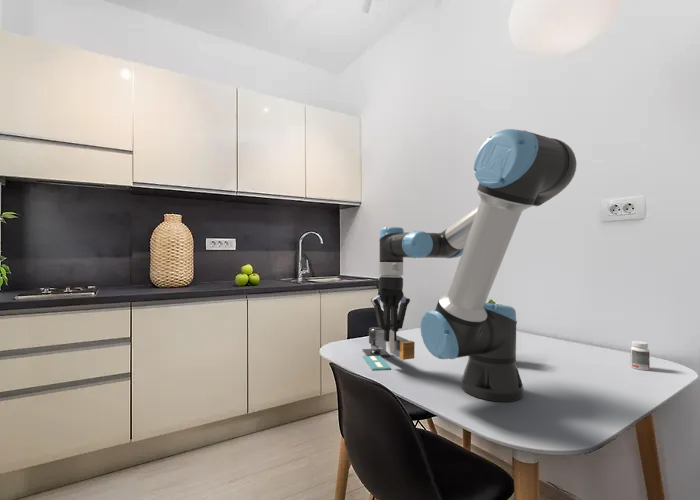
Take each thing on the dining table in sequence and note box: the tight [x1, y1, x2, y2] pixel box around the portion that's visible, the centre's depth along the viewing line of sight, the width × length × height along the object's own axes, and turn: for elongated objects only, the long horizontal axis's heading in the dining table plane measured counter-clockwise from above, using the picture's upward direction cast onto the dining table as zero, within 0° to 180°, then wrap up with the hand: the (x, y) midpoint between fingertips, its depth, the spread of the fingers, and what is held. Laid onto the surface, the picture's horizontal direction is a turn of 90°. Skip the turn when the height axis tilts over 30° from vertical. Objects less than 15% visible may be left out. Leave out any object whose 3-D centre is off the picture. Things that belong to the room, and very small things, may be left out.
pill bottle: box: [630, 340, 651, 371], centre depth 116 cm, size 5×5×8 cm
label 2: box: [366, 360, 392, 371], centre depth 114 cm, size 7×6×1 cm
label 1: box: [362, 355, 385, 364], centre depth 121 cm, size 7×6×1 cm
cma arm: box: [368, 326, 416, 361], centre depth 120 cm, size 24×5×5 cm, turn 23°
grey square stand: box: [362, 344, 391, 358], centre depth 129 cm, size 8×8×4 cm
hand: (389, 351), depth 113 cm, fingers closed
